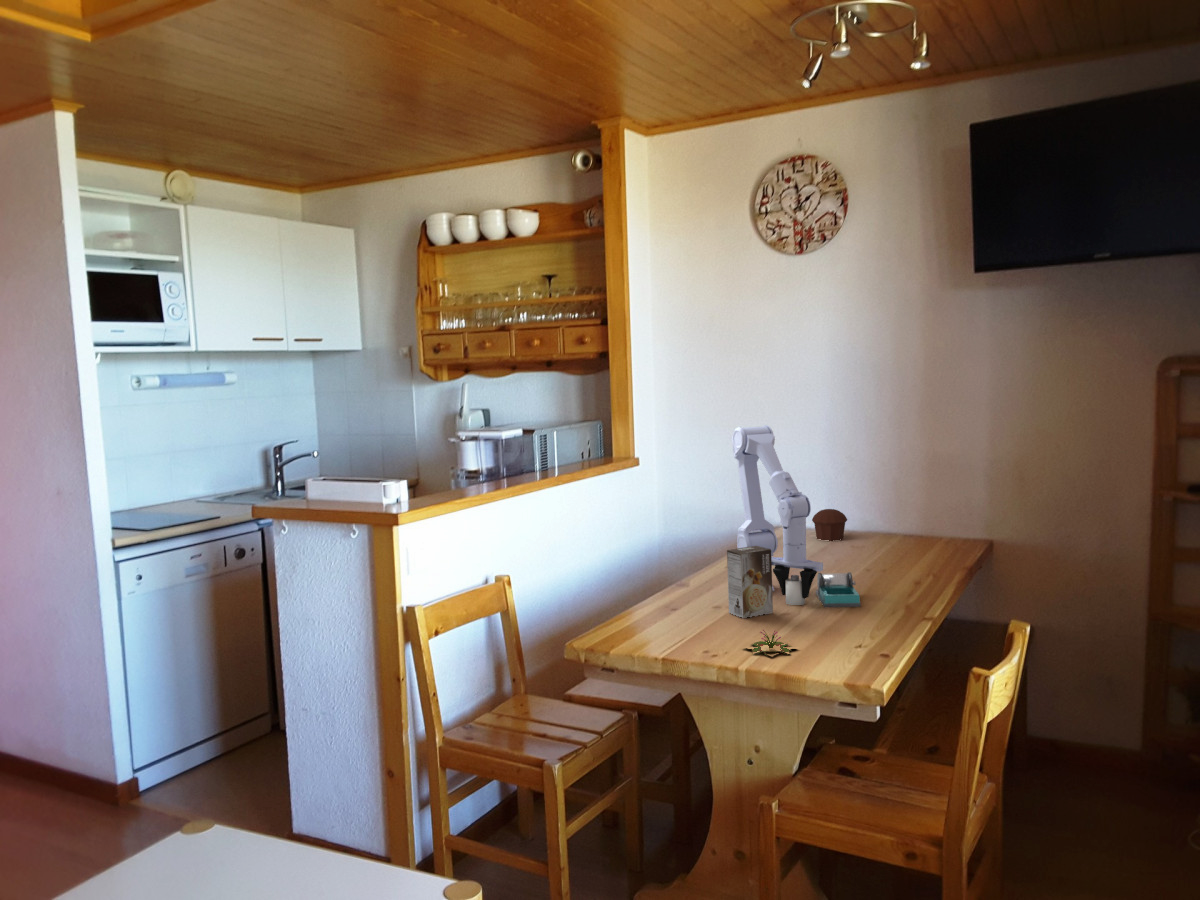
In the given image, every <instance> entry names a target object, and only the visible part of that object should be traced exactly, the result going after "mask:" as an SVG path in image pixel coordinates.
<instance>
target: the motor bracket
mask: <svg viewBox="0 0 1200 900" xmlns="http://www.w3.org/2000/svg"><path fill="white" fill-rule="evenodd" d="M816 583H817V584H816V585H817V589H815V595H816V597H817V596H818V597H817V599H818V600H819V601H821V602H820V603H821V605H822V604H823V605H822V607H823V606H824V607H823V608H861V607H862V604H861V600H860V598H861V597H860V594H859V592H858V591H857V590H856V589H855V587H854V586H855V585H856V580H853V575H852V572H850V571H849V572H844V573H843V572H842V573H841V572H838V573H837V572H835V573H833V572H832V573H831V572H830V573H822V572H817V582H816Z"/></svg>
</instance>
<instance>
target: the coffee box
mask: <svg viewBox="0 0 1200 900" xmlns="http://www.w3.org/2000/svg"><path fill="white" fill-rule="evenodd" d="M726 555H727V556H726V558H727V562H726V563H727V565H726V566H727V591H728V592H727V593H728V599H727V600H728V614H730V613H731V614H730V615H732V614H733V615H732V616H735V615H736V617H738V616H739V617H738V618H740V617H742V618H741V619H743V618H745V619H748V618H747V617H750V618H753V617H752V616H755V617H759V616H758V615H760V616H763V614H765V615H769V614H773V613H774V604H773V603H774V600H773V596H774V595H773V591H772V585H773V568H772V566H773V565H772V560H771V557H772V556H771V549H767V548H763V547H759V546H751V547H744V548H732V549H727V550H726Z"/></svg>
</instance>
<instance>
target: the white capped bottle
mask: <svg viewBox="0 0 1200 900" xmlns="http://www.w3.org/2000/svg"><path fill="white" fill-rule="evenodd" d="M785 585H786V595H785V604H786V605H787V604H789V605H788V606H790V605H802V606H804V604H805V605H806V598H803V597H802V581H801V578H800V574H791V575H790V578H789V579H786V580H785Z"/></svg>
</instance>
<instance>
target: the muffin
mask: <svg viewBox="0 0 1200 900" xmlns="http://www.w3.org/2000/svg"><path fill="white" fill-rule="evenodd" d="M811 521H812V523H813V524H814V531H815V537H817V538H816V540H817V539H821V540H829V541H828V542H830V541H831V542H834V541H833V540H840V539H843V540H844V535H845V534H844V533H845V527H846V522H847V521H848V518H847V516H846V515H845V514H844V513H843V512H842V511H840V510H838V509H834V508H824V509H820V510H819V511H817V512H816V513H815V514H814V515H813V517H812V519H811ZM821 540H820V541H821ZM840 541H841V540H840Z"/></svg>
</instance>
